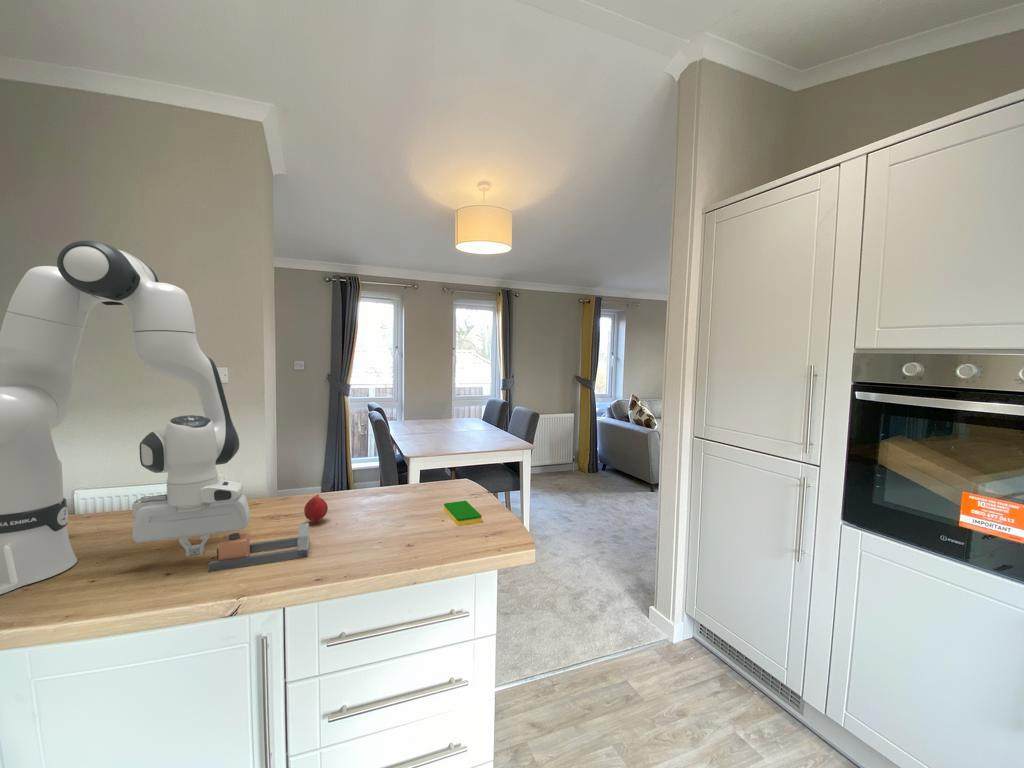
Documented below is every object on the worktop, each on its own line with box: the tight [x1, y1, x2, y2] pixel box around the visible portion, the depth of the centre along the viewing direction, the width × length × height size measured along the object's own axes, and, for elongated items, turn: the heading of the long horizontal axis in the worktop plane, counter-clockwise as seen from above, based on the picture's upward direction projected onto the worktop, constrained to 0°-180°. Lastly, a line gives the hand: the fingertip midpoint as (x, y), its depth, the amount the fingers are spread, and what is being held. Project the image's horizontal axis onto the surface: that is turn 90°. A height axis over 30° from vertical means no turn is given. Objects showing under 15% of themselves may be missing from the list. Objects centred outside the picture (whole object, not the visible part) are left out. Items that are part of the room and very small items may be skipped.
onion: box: [303, 493, 329, 524], centre depth 116 cm, size 6×6×8 cm
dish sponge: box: [443, 500, 483, 527], centre depth 123 cm, size 7×14×2 cm, turn 25°
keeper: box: [217, 531, 251, 560], centre depth 94 cm, size 5×5×6 cm
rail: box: [208, 522, 310, 573], centre depth 96 cm, size 19×8×5 cm, turn 113°
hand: (195, 554), depth 91 cm, fingers closed
